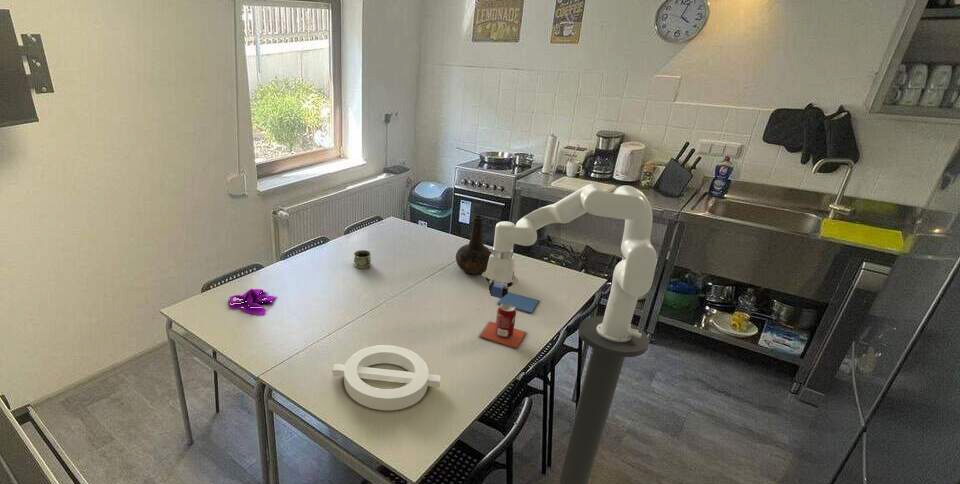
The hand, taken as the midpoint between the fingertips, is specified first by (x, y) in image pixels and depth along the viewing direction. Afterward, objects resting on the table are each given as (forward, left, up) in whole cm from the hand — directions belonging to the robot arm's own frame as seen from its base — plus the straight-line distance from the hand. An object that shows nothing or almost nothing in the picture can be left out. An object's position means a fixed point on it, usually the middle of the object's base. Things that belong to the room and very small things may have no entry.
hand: (497, 293), depth 198 cm
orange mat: (-8, +13, -10) cm, 18 cm away
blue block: (0, 0, -1) cm, 1 cm away
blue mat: (-6, -15, -10) cm, 19 cm away
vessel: (+71, -11, -10) cm, 73 cm away
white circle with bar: (+17, +61, -10) cm, 64 cm away
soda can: (-8, +13, -10) cm, 18 cm away
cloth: (+91, +46, -10) cm, 103 cm away
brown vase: (+22, -35, -10) cm, 43 cm away
